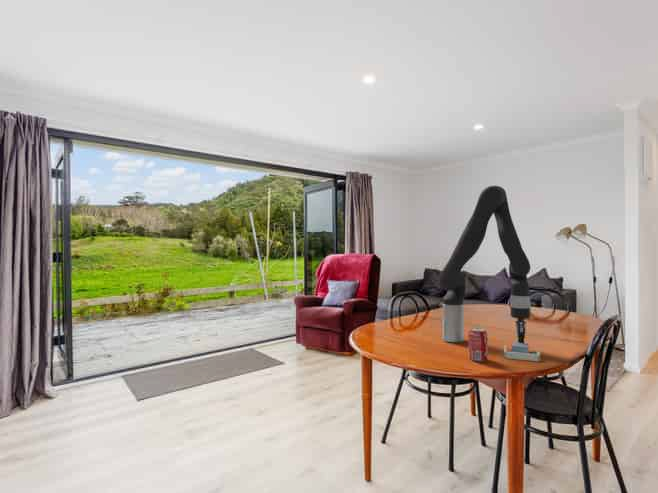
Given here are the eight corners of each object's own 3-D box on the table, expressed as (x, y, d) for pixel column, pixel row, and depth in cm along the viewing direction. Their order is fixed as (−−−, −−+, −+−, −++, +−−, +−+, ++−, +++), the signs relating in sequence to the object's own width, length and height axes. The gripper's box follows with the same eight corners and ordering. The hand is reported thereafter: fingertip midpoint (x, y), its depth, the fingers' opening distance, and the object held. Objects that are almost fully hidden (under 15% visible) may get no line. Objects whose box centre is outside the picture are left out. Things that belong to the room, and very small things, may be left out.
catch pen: (504, 358, 151) (504, 351, 151) (504, 350, 161) (504, 344, 161) (540, 361, 146) (540, 355, 145) (538, 353, 155) (537, 347, 155)
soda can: (483, 356, 153) (482, 326, 153) (491, 362, 146) (490, 331, 146) (465, 357, 153) (465, 327, 153) (473, 362, 146) (472, 331, 146)
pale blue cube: (512, 355, 154) (512, 345, 154) (511, 351, 160) (511, 342, 160) (528, 357, 152) (528, 347, 152) (528, 353, 157) (527, 343, 157)
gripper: (531, 309, 152) (532, 352, 152) (529, 303, 164) (530, 343, 165) (510, 308, 155) (511, 350, 155) (509, 303, 167) (510, 342, 168)
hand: (521, 347), depth 160 cm, fingers closed
